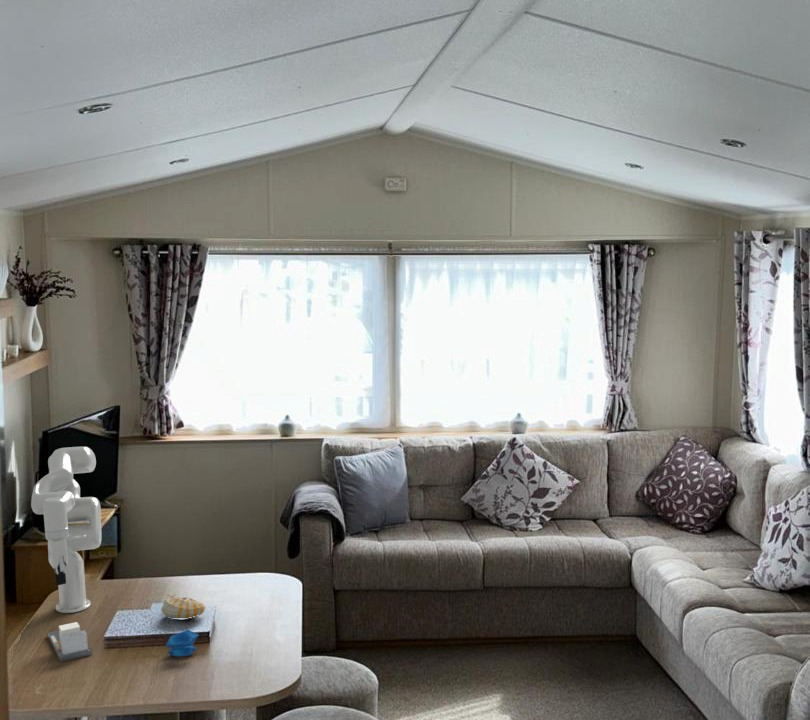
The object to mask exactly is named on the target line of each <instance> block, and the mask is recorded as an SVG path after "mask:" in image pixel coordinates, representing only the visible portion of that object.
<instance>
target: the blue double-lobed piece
mask: <svg viewBox="0 0 810 720" xmlns="http://www.w3.org/2000/svg"><path fill="white" fill-rule="evenodd" d="M199 636H200V634H199V633H197V632H195V631H193V630H191V629H185V630H183V631H181V632H178V633H175V634H173V635H171V636H170V637H169V639H168V640H167V642H166V645H165V647H167V648H171V649H170V650H168V651H167V654H168V655H171V656H172V657H187V656H188V657H189V656H191V655H192V654H193V653H194V652H195V651H196V650H197V647H195V646H193V645H194V643H195V641H196V640H197V638H198V637H199Z"/></svg>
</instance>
